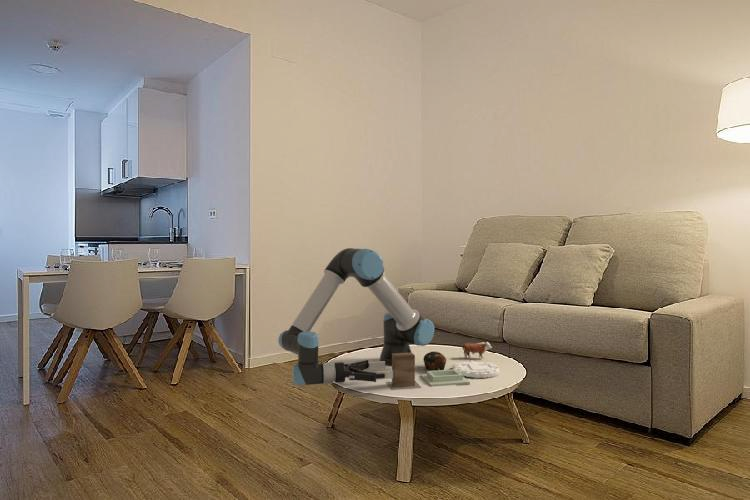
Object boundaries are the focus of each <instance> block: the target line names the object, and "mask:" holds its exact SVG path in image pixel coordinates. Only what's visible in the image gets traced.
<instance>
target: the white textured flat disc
mask: <svg viewBox="0 0 750 500" xmlns="http://www.w3.org/2000/svg"><path fill="white" fill-rule="evenodd" d="M453 369H456V370H457V371H458V372H460V373H461V374H462V375H463V377H468V378H473V379H480V378H483V379H490V378H491V377H492V378H494V377H498V375H499V374H500V372H501V370H500V367H499V366H498V364H495V363H492V362H488V361H486V362H482V361H474V360H473V359H470V360H469V361H462V362H460V361H459V362H453V364H452V365H451V370H453ZM487 377H488V378H487Z"/></svg>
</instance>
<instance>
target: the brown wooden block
mask: <svg viewBox="0 0 750 500" xmlns="http://www.w3.org/2000/svg"><path fill="white" fill-rule="evenodd" d="M391 371H393V378H391V382H392V384H393V386H394V387H407V386H415V381H416V355H415V354H414V352H412V353H395V354H392V365H391Z"/></svg>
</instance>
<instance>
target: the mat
mask: <svg viewBox="0 0 750 500" xmlns="http://www.w3.org/2000/svg"><path fill="white" fill-rule="evenodd" d="M385 384H386V385H387V386H388V387H389V390H390V391H396V390H397V391H398V390H399V391H400V390H412V389H422V386H421V385H420V384H419V382H417V381H416V380H415V386H407V387H394V386H393V384H392V381H385Z"/></svg>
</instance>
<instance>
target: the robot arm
mask: <svg viewBox="0 0 750 500" xmlns="http://www.w3.org/2000/svg"><path fill="white" fill-rule="evenodd" d="M385 271H386V270H385V267H384V260H383V258H382V256H381V254H379V252H377V251H375V250H374V249H373V250H372V249H369V248H354V247H353V248H352V247H349V248H345V249H341V250H340V251H338V252H337V254H335V256H333V258H332V259H331V260H330V262H329V263H328V264H327V266H326V267H325V269H324V271H323V273H324V275H323V276H322V278H321V279H320V281H319V283H318V284H317V285H316V287H315V289H314V290H313V292H312V293H311V295H310V296H309V298H308V299H307V301H306V303H305V304H304V306H303V307H302V308H301V309H300V312H299V313H298V315H297V316H296V318H295V319H294V321H293V322H292V324H291V325H290V327H289V328H288V330H287V329H286V330H283V331H281V333H280V334H279V336H278V342H277V343H278V344H279V345H278V346H280V348H282V349H283V350H285V352H286V351H287V352H290V353H293V354H295V355H297V364H294V365H293V366H292V382H293V384H294V385H296V386H309V385H321V384H324V385H326V386H327V385H328V384H334V383H336V384H339V383H345V381H346V378H348V380H349V381H359V382H360V381H362V382H371V383H372V382H373V383H377V380H388V379H391V380H392V378H393V371H392V370H382V369H386V365H387V366H392V354H395V353H413V352H412V350H411V346H410V344H412V345H416V346H417V347H418V346H420V347H425V346H427V345H428V344H430V343H431V341H432V340H433V338H434V335H435V334H434V333H435V325H434V323H433V321H431V320H429V319H428V318H425V317H423V315H422V314H421V313H420V312H419V310H417V309H414V308H413V309H412V307H411V306H410V305H409V304H408V302H407V301H406V299H404V297H403V296H402V295H401V293H400V292H399V291H398V290H397V288H396V287H395V286H394V285H393V283H392V282H391V281H390V280H389V278H388V277H387V276H386V274H385ZM351 277H352V278H354V279H355V280H356V281H357V282H358V283H359V284H360V286H361V287H363V288H368V290H370V292H371V293H372V294H373V296H374V297H375V298H376V299H377V300H378V302H379V303H380V304H381V305H382V306H383V308H384V309H385V310H386V311H387V312H386V313H384V315H383V346H382V349H381V352H380V355H379V356H380V357H379V361H369V359H366V360H362V361H361V360H360V361H357V362H351V363H345V362H343V361H340V362H338V361H337V362H334V363H333V362H325V363H323V362H321V363H319V345H320V343H319V336H318V333H317V332H315V331H312V329H313V328H314V327H315V325H316V323H317V321H318V319H319V318H320V316H321V315H322V313H323V311H324V310H325V308H326V307H327V306H328V304H329V302H330V300H331V299H332V297H333V296H334V294H335V293H336V292H337V290H338V288H339V287H340V285H342V284H344V283H345V282H346V281H347V279H348V278H351ZM379 369H381V370H382V371H381V370H379ZM367 370H379V371H375V372H372V371H367Z"/></svg>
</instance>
